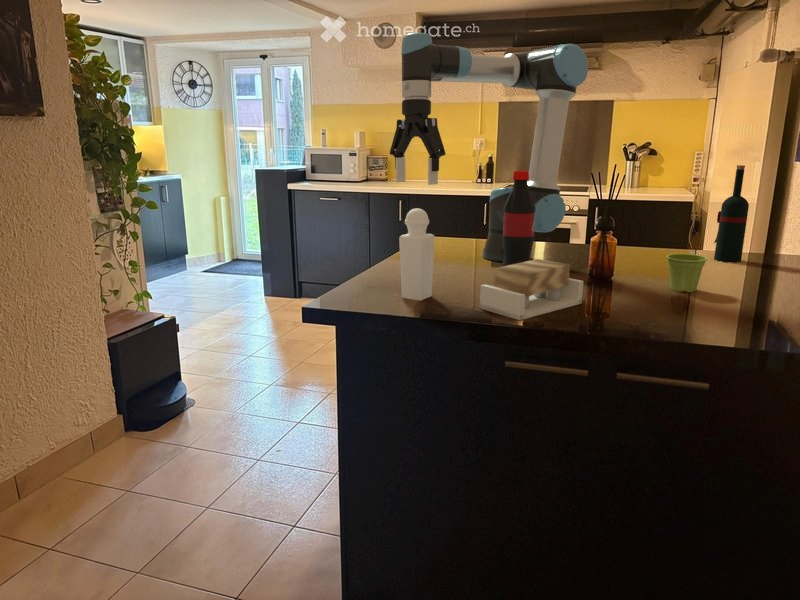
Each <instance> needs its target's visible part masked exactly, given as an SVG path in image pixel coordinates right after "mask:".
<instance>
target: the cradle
mask: <svg viewBox="0 0 800 600" xmlns="http://www.w3.org/2000/svg"><path fill="white" fill-rule="evenodd" d="M583 289H584V280H580V279H575V278H571V277H569V284H568V285H567V286H564V287H560V288H557V289H553V290H549V291H546V292H542V293H539V294H535V295H532V296H528V297H526V296H525V294H521V293H517V292H514V291H510V290H506V289H502V288H498V287H495V285H489V284H486V283H485V284H481V285H480V292H479V294H480V295H479V296H480V297H479V309H481V310H484V311H488V312H491V313H494V314H497V315H499V316H500V315H501V316H503V317H504V316H505V317H507V318H511V319H515V320H518V321H522V320H526V319H529V318H532V317H533V318H534V317H536V316H541V315H544V314H548V313H551V312H555V311H558V310H559V311H560V310H563V309H566V308H569V307H573V306H577V305H580V304H581V305H582V302H583V292H584V291H583Z"/></svg>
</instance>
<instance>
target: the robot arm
mask: <svg viewBox="0 0 800 600" xmlns="http://www.w3.org/2000/svg"><path fill="white" fill-rule="evenodd" d="M401 39H402V41H401V53H400V55H401V97H402V98H403V100H402V101H401V114H402V115H403V116H404V119H397V120H396V128H395V133H394V136H393V139H392V143H391V146H390V149H389V154H390V156H393V157H394V168H395V182H396V183H406V157H405V153H406V151H407V149H408V147H409V146H410V144H411V142H412V140H413V139H414V138H415V137H418V138H419V139H421V141H422V144H423V146H424V148H425V149H426V151H427V153H428V155H429V156H428V158H427V185H428V186H429V185H430V186H431V185H433V186H434V185H439V183H438V182H439V178H438V177H439V176H438V175H439V170H440V158H441V157H443V156H446V151H445V146H444V144H443V140H442V137H441V133H440V130H439V127H438V126H439V125H438V118H436V117H429V116H430V115H431V114H432V101H431V100H430V98H431V97H432V82H443V83H445V82H448V83H449V82H450V83H475V84H476V83H477V84H482V83H483V84H501V85H502V86H503V87H506V88H515V89H516V88H517V89H523V90H531V91H532V90H533V91H534V93H535V95H536V96H537V97H538V98H539V102H538V107H537V114H536V121H535V128H534V136H533V141H532V147H531V154H530V162H529V169H528V172H529V179H528V181H527V182H528V188H529V191H530V193H531V196H532V198H533V201H534V204H535V208H536V211H535V221H534V233H536V232H537V233H550V232H553V231H554V230H556V229H557V227H559V226H560V225H561V223H562V222H563V220H564V218H565V214H566V203H565V199H564V198H563V197H562V196H561V195H560V194H561V188H560V186H559V185H558V184H557V183H558V173H559V167H560V161H561V155H562V154H561V153H562V148H563V142H564V137H565V129H566V123H567V116H568V110H569V104H570V101H571V100H573V98H574V97H575V96H576V92H577V87H579V86H581V85H582V84H583V83H584V81H585V80H586V78H587V76H588V72H589V62H588V58H587V56H586V54H585V51H584V50H583V49H582V48H581V47H580V46H578V45H577V44H574V43H566V44H563V43H560V44H558V45H553V46H549V47H544V48H538V49H534V50H531V51H525V52H519V53H508V54H505V55H504V56H496V55H478V54H472V53H471V51H470V50H469V49H468V48H466V47H463V46H459V45H443V44H434V43H433V41H432V40H433V38H432V35H431V34H430V33H425V32H412V33H411V32H410V33H407V34H405V35H404V36H403V37H402V38H401ZM512 189H513V186H511V187H499V188H494V189H492V190H491V191H490V195H489V208H488V209H489V210H488V212H489V213H488V215H489V217H488V235H487V238H486V241H485V244H484V248H483V249H482V258H484V259H486V260H491V261H496V262H497V261H498V262H503V261H504V248H503V239H502V236H503V223H504V206H505V203H506V201H507V199H508V196H509V194H510V193H511V191H512Z"/></svg>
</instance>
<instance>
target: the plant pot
mask: <svg viewBox="0 0 800 600" xmlns="http://www.w3.org/2000/svg"><path fill="white" fill-rule="evenodd" d="M666 258H667V262H668V265H669V266H668V267H669V287H670V290H672V291H675V292H678V293H679V292H680V293H681V292H686V293H694V292H696V291H697V289H698V285H699V283H700V282H699V281H700V278H701V275H702V271H703V267H704V266H705V265H706V262H707V260H708V257H706V256H703V255H699V254H693V253H692V254H691V253H690V254H689V253H671V254H668V255H666Z"/></svg>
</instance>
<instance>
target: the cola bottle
mask: <svg viewBox="0 0 800 600" xmlns="http://www.w3.org/2000/svg"><path fill="white" fill-rule="evenodd" d="M528 179H529V170H515V171H513V177H512V180H513V182H514V183H513V186H512V187H513V189H512V191H511V193H510V194H509V196H508V199H507V201H506V203H505V206H504V223H503V236H502V239H503V248H504V261H502V264H501V266H500V267H503V266H508V265H512V264H517V263H522V262H526V261H531V255H532V251H533V245H534V241H535V235H534V234H535V232H534V221H535V211H536V208H535V204H534V201H533V198H532V196H531V193H530V191H529V188H528V182H527V181H528Z"/></svg>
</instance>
